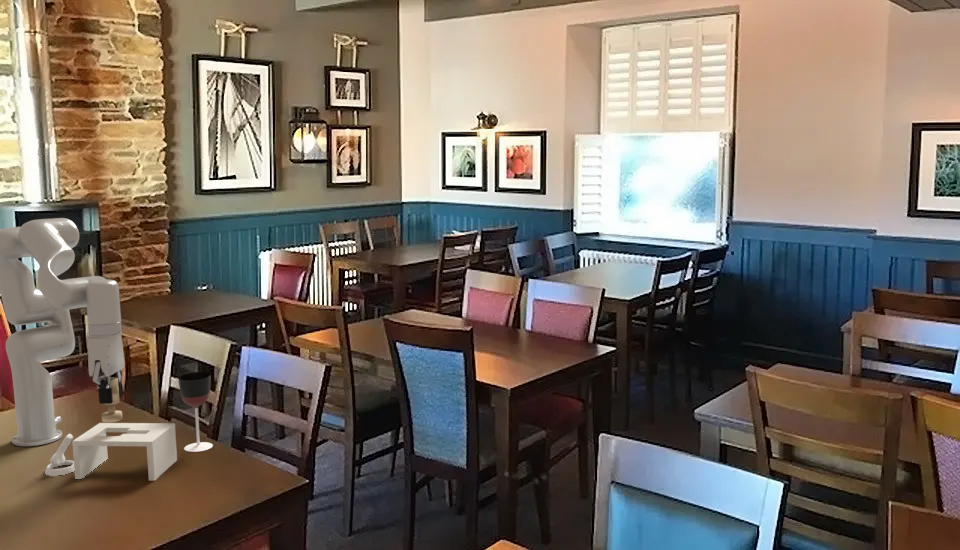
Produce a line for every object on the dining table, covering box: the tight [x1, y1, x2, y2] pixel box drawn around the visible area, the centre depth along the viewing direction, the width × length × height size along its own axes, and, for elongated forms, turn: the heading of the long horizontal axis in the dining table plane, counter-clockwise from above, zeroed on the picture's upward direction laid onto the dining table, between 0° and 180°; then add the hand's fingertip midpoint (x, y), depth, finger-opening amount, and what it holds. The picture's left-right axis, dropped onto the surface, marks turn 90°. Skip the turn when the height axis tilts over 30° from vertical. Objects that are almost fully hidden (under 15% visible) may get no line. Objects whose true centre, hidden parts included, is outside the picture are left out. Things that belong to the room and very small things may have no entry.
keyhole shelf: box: [71, 422, 178, 482], centre depth 214 cm, size 20×14×10 cm
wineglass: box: [178, 371, 214, 453], centre depth 230 cm, size 8×9×20 cm
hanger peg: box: [100, 377, 123, 423], centre depth 212 cm, size 5×5×10 cm
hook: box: [44, 433, 75, 477], centre depth 214 cm, size 8×12×7 cm
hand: (110, 399), depth 212 cm, fingers closed on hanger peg, 4 cm apart
